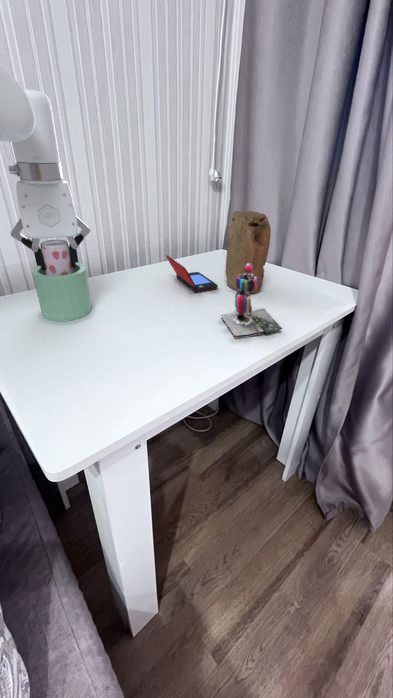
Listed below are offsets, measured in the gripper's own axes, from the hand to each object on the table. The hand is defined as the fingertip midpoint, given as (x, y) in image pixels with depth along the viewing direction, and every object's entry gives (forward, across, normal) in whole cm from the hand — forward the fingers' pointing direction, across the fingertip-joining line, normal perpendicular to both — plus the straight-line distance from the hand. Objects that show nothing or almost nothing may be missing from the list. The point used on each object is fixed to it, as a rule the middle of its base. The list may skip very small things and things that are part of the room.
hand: (58, 266), depth 71 cm
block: (+11, +47, -1) cm, 48 cm away
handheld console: (+11, +34, +6) cm, 36 cm away
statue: (+11, +37, -21) cm, 44 cm away
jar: (+11, 0, 0) cm, 11 cm away
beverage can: (+10, 0, 0) cm, 10 cm away
